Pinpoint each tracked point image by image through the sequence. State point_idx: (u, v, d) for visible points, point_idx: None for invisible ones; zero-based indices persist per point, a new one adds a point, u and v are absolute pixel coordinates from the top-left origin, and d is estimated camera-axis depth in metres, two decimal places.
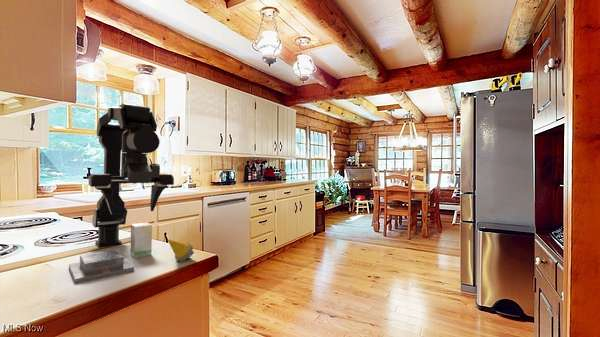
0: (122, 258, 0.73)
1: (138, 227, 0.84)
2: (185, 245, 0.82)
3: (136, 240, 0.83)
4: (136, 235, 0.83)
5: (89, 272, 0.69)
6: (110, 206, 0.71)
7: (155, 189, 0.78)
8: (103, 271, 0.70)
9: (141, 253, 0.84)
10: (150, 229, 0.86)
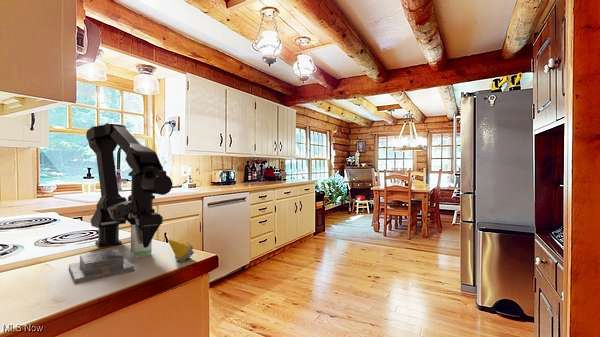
0: (122, 258, 0.73)
1: None
2: (185, 245, 0.82)
3: (136, 240, 0.83)
4: (136, 235, 0.83)
5: (89, 272, 0.69)
6: None
7: None
8: (103, 271, 0.70)
9: (141, 253, 0.84)
10: None
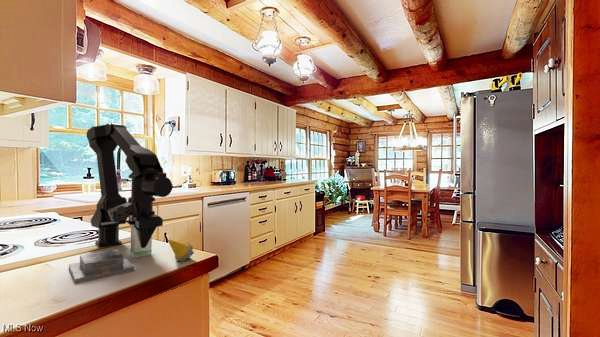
0: (122, 258, 0.73)
1: None
2: (185, 245, 0.82)
3: (136, 240, 0.83)
4: (136, 235, 0.83)
5: (89, 272, 0.69)
6: None
7: None
8: (103, 271, 0.70)
9: (141, 253, 0.84)
10: None
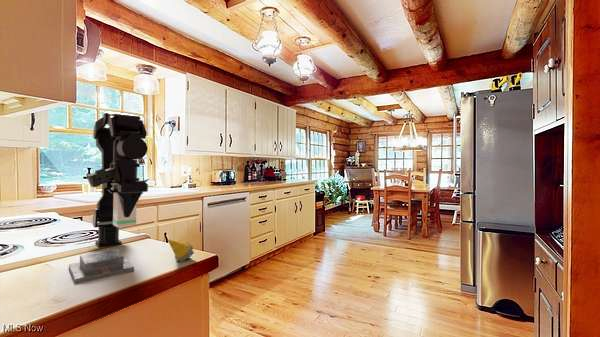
0: (122, 258, 0.73)
1: None
2: (185, 245, 0.82)
3: (119, 208, 0.77)
4: (119, 203, 0.77)
5: (89, 272, 0.69)
6: None
7: None
8: (103, 271, 0.70)
9: (125, 223, 0.78)
10: None
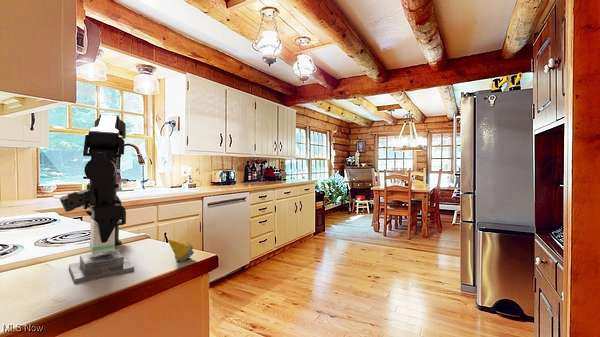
0: (122, 258, 0.73)
1: None
2: (185, 245, 0.82)
3: (95, 233, 0.71)
4: (95, 227, 0.71)
5: (89, 272, 0.69)
6: None
7: None
8: (103, 271, 0.70)
9: (101, 249, 0.72)
10: None
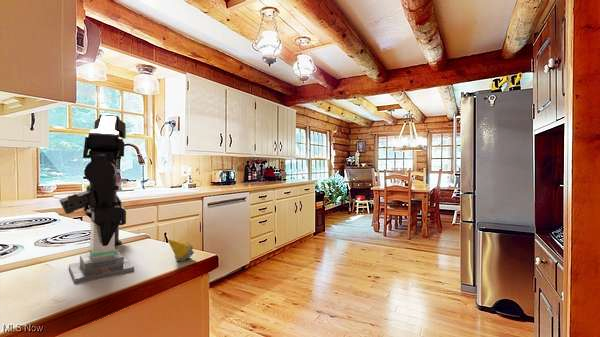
0: (122, 258, 0.73)
1: None
2: (185, 245, 0.82)
3: (95, 239, 0.71)
4: (95, 233, 0.71)
5: (89, 272, 0.69)
6: None
7: None
8: (103, 271, 0.70)
9: (101, 254, 0.72)
10: None
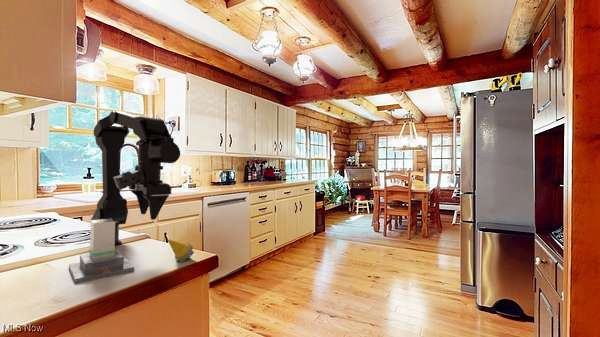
0: (122, 258, 0.73)
1: (97, 224, 0.71)
2: (185, 245, 0.82)
3: (95, 239, 0.71)
4: (95, 233, 0.71)
5: (89, 272, 0.69)
6: None
7: None
8: (103, 271, 0.70)
9: (101, 254, 0.72)
10: (113, 226, 0.73)
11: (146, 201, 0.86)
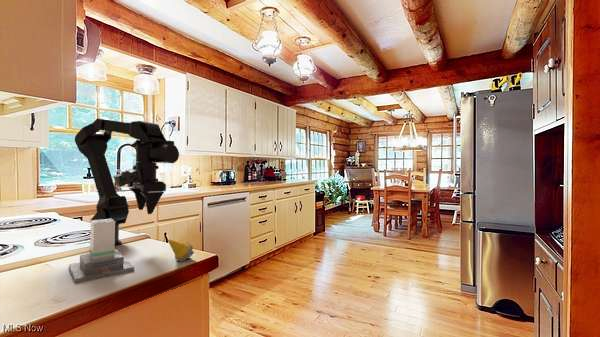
0: (122, 258, 0.73)
1: (97, 224, 0.71)
2: (185, 245, 0.82)
3: (95, 239, 0.71)
4: (95, 233, 0.71)
5: (89, 272, 0.69)
6: (137, 203, 0.93)
7: None
8: (103, 271, 0.70)
9: (101, 254, 0.72)
10: (113, 226, 0.73)
11: (143, 198, 0.94)
